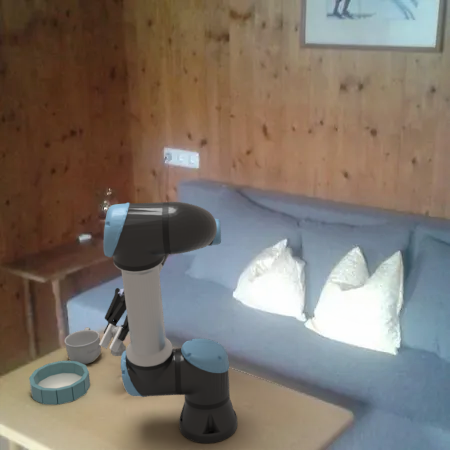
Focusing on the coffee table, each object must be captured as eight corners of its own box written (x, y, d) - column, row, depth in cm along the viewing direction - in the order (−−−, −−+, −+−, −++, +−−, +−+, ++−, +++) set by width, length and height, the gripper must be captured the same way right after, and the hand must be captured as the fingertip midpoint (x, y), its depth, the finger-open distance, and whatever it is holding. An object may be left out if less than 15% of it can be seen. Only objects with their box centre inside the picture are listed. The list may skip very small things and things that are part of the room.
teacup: (94, 369, 203) (91, 346, 201) (61, 366, 206) (58, 343, 203) (110, 347, 216) (108, 325, 214) (79, 345, 218) (76, 323, 216)
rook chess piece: (107, 355, 187) (105, 329, 185) (115, 348, 191) (113, 323, 189) (121, 357, 186) (119, 332, 184) (129, 350, 190) (127, 325, 188)
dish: (101, 384, 195) (99, 371, 194) (56, 411, 182) (55, 396, 181) (64, 368, 204) (62, 355, 203) (19, 392, 192) (18, 379, 191)
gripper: (172, 285, 190) (136, 361, 183) (131, 274, 200) (95, 345, 192) (159, 274, 185) (120, 351, 177) (117, 263, 194) (79, 336, 187)
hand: (107, 348), depth 185 cm, fingers closed on rook chess piece, 3 cm apart
